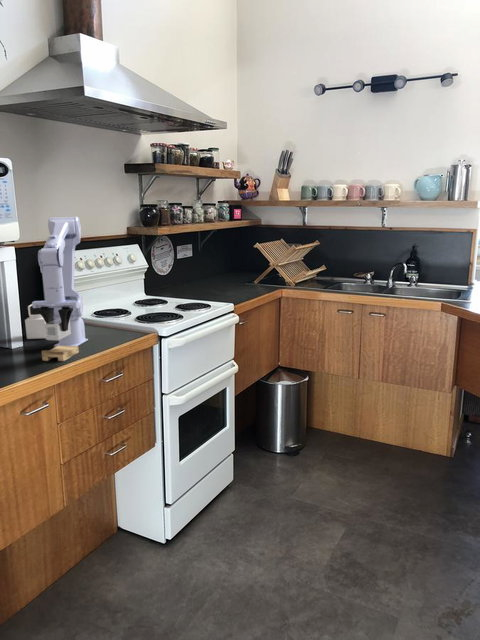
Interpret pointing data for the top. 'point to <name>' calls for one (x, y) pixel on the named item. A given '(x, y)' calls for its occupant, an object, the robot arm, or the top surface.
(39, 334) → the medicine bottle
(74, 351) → the stand
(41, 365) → the top surface
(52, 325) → the housing
